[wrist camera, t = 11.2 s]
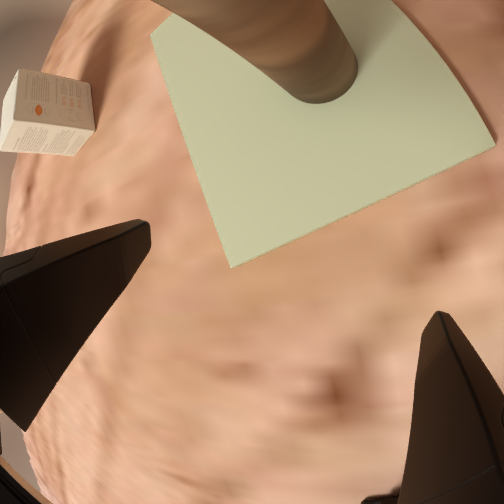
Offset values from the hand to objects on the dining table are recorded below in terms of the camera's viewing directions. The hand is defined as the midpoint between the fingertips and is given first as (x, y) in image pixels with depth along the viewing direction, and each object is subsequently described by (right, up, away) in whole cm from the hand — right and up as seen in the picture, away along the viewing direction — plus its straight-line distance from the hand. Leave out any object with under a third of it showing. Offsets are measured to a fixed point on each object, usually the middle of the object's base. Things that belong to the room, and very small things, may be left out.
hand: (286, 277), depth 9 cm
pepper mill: (+3, +12, +8) cm, 14 cm away
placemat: (+1, +14, +10) cm, 17 cm away
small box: (-21, +17, +23) cm, 35 cm away
